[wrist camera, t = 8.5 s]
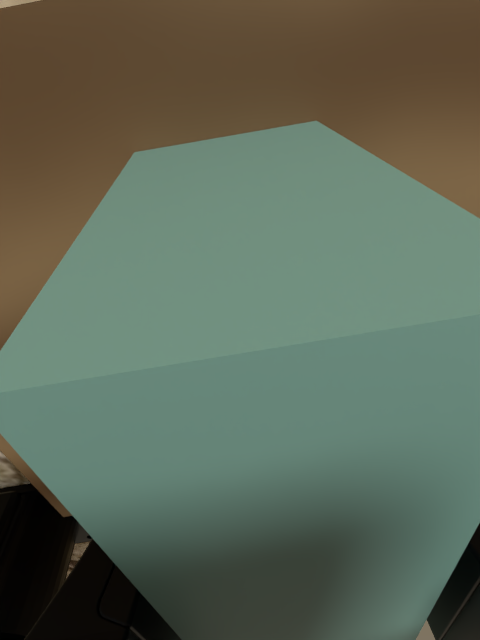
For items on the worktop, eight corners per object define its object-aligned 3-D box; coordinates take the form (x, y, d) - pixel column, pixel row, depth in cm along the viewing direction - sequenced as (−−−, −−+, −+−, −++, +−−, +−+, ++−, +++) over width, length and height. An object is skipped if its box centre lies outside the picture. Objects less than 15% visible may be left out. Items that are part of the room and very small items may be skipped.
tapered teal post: (320, 446, 15) (392, 681, 9) (225, 461, 15) (238, 704, 9) (317, 120, 8) (605, 293, 2) (134, 152, 8) (-33, 397, 2)
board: (423, 402, 19) (455, 454, 16) (80, 458, 19) (63, 517, 17) (531, -73, 9) (660, -122, 6) (-204, 70, 9) (-353, 77, 7)
